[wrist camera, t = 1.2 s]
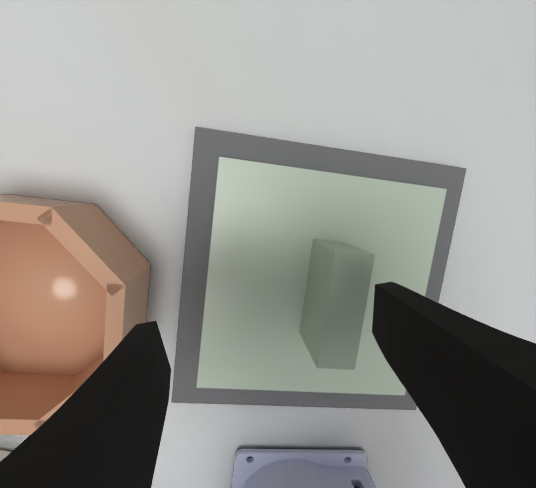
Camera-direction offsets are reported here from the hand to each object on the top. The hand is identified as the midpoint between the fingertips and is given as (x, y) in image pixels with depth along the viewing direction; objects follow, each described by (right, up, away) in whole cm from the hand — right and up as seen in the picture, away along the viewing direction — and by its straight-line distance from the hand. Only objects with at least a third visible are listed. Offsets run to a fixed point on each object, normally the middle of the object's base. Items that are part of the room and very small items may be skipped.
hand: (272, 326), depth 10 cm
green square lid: (+3, 0, +9) cm, 10 cm away
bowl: (-13, 0, +8) cm, 15 cm away
